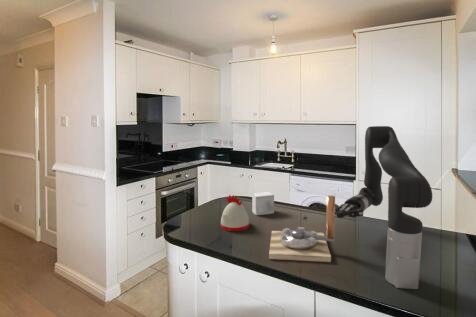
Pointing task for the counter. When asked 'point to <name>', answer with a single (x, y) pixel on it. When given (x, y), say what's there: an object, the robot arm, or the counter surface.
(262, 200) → the skincare box
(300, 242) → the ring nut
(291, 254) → the nut base plate
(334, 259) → the counter surface
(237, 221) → the kitchen timer
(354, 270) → the counter surface
